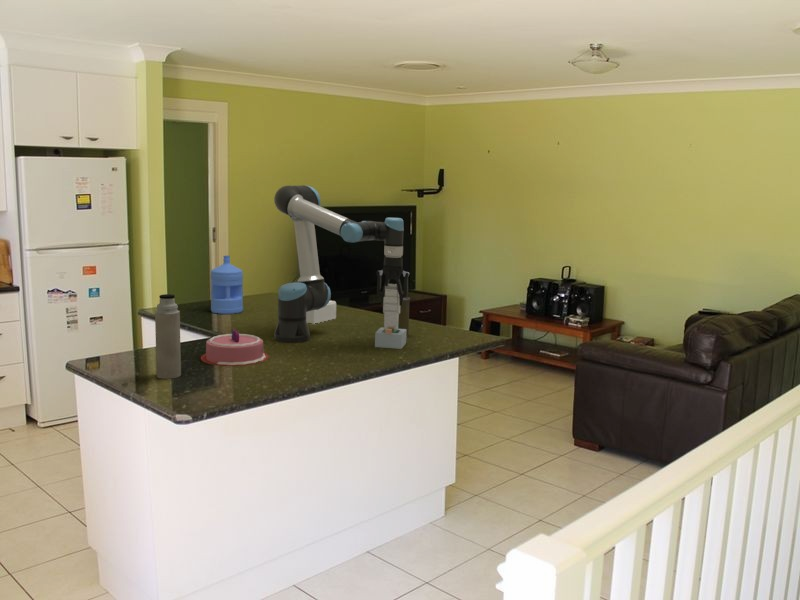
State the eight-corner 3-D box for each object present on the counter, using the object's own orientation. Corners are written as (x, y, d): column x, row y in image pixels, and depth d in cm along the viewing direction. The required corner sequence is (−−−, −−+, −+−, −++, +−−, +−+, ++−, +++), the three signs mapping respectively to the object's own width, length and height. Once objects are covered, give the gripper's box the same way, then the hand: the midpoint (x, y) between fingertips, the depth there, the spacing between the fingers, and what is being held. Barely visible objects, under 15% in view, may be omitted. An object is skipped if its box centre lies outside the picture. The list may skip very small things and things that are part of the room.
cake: (277, 363, 272) (277, 335, 271) (210, 369, 260) (210, 340, 259) (256, 348, 294) (256, 322, 292) (193, 353, 282) (193, 326, 280)
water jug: (210, 309, 371) (209, 254, 366) (241, 308, 375) (241, 254, 371) (211, 315, 356) (211, 257, 351) (244, 314, 361) (244, 257, 356)
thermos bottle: (160, 372, 254) (158, 292, 249) (183, 372, 254) (182, 293, 250) (153, 378, 246) (151, 296, 241) (177, 379, 247) (175, 297, 242)
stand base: (371, 349, 296) (372, 328, 295) (378, 342, 309) (379, 322, 307) (403, 351, 294) (404, 331, 293) (408, 344, 307) (409, 324, 305)
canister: (406, 340, 315) (407, 294, 311) (382, 338, 317) (383, 293, 313) (411, 335, 325) (412, 290, 322) (388, 333, 327) (389, 289, 324)
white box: (313, 324, 342) (314, 291, 339) (284, 320, 351) (284, 287, 348) (336, 319, 356) (336, 287, 354) (307, 314, 365) (307, 283, 363)
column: (383, 332, 297) (384, 286, 294) (386, 329, 304) (387, 283, 301) (395, 333, 296) (397, 286, 293) (398, 330, 303) (400, 284, 300)
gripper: (369, 256, 293) (367, 313, 297) (414, 258, 290) (412, 316, 294) (373, 254, 300) (371, 309, 304) (417, 256, 297) (415, 312, 301)
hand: (391, 312), depth 299 cm, fingers closed on column, 5 cm apart
